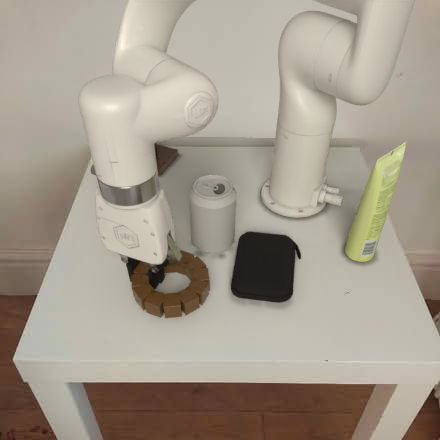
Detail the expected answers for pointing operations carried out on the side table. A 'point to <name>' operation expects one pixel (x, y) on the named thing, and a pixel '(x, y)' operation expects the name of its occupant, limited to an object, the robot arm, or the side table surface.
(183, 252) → the ring
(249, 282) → the carrying case
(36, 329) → the side table surface
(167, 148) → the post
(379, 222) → the tube
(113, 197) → the robot arm
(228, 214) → the can
